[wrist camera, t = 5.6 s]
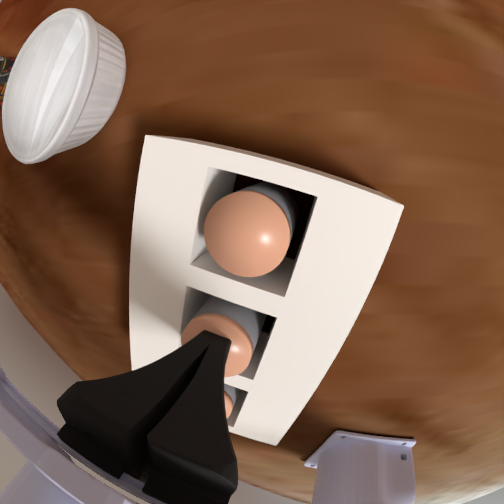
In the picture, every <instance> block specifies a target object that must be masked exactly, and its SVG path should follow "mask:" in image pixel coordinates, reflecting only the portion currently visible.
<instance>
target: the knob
mask: <svg viewBox="0 0 504 504" xmlns="http://www.w3.org/2000/svg"><path fill="white" fill-rule="evenodd" d="M297 221H298V207H297V203H296V201H295V199H294V197H293V196H292V194H291V193H290V192H289V191H288V190H287V189H286V188H284V187H283V186H281V185H278V184H274V183H271V182H261V183H257V184H254V185H251V186H249V187H246V188H244V189H241V190H239V191H236V192H234V193H232V194H229V195H227V196H225V197H223V198H221V199H220V200H219V201H217V202H216V203H215V204H214V205H213V206H212V208H211V209H210V211H209V212H208V214H207V217H206V220H205V223H204V240H205V244H206V247H207V249H208V251H209V253H210V255H211V257H212V258H213V259H214V261H215V262H216V263H217V264H218V265H219V266H220V267H222V268H223V269H224V270H226V271H228V272H230V273H232V274H234V275H238V276H242V277H257V276H262V275H264V274H267V273H269V272H270V271H272V270H273V269H275V268H276V267H277V266H278V265H279V264H280V263H281V261H282V260H283V258H284V257H285V255H286V252H287V250H288V247H289V244H290V241H291V238H292V236H293V233H294V230H295V227H296V224H297Z"/></svg>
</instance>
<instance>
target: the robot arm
mask: <svg viewBox="0 0 504 504" xmlns="http://www.w3.org/2000/svg"><path fill="white" fill-rule="evenodd" d="M231 343H232V341H231V340H230V339H228V338H225V337H223V336H220V335H217V334H215V333H212V332H209V331H207V330H203V331H201V332H200V333H199V334H198V335H196V336H195V337H194V338H192V339H191V340H190V341H188V342H187V343H185V344H184V345H182V346H181V347H179V348H178V349H176V350H175V351H173V352H171V353H170V354H168V355H166V356H164V357H162V358H160V359H159V360H157V361H155V362H153V363H150V364H148V365H146V366H143V367H141V368H138V369H136V370H133V371H130V372H127V373H124V374H120V375H116V376H112V377H107V378H103V379H97V380H89V381H80V382H76V383H75V384H73V385H72V386H71V387H70V388H68V389H67V391H66V392H65V393H64V394H63V395H62V396H61V397H60V398H59V399H58V400H57V406H58V408H59V410H60V412H61V414H62V416H63V418H64V420H65V422H66V424H65V425H64V426H63V427H62V428H61V429H60V428H59V427H57V426H56V425H55V424H54V423H53V422H51V421H50V420H49V419H48V418H47V417H46V416H44V415H43V414H42V413H41V412H40V411H39V410H38V409H37V408H36V407H34V406H33V404H31V403H30V402H29V401H28V400H27V399H26V398H25V397H24V396H23V395H22V394H21V393H20V392H19V391H18V389H17V388H16V387H15V386H14V385H13V384H12V383H11V382H10V381H9V380H8V379H7V378H6V376H5V373H4V371H3V370H2V368H1V366H0V431H1V432H2V433H3V434H4V435H5V437H6V438H7V439H8V440H9V441H10V442H11V443H12V444H13V445H14V446H15V448H17V450H18V451H19V452H20V453H21V454H22V455H23V456H24V457H25V458H26V459H27V460H28V461H27V462H26V464H25V465H24V466H23V467H22V468H21V470H19V472H18V473H17V474H16V475H15V476H14V478H13V479H12V480H11V481H10V483H9V484H8V485H7V486H6V487H5V489H4V490H3V491H2V492H1V494H0V504H138V503H137V502H135V501H133V500H131V499H129V498H128V497H126V496H124V495H122V494H120V493H119V492H117V491H116V490H114V489H112V488H111V487H109V486H107V485H106V484H104V483H102V482H101V481H99V480H98V479H96V478H95V477H93V476H92V475H90V474H89V473H87V472H86V471H84V470H82V469H81V468H79V467H78V466H77V465H76V464H75V463H74V462H73V461H72V460H71V458H70V456H69V455H68V454H67V453H69V454H70V455H71V456H73V457H74V458H75V459H77V460H78V461H79V462H81V463H82V464H84V465H85V466H86V467H88V468H89V469H91V470H92V471H94V472H96V473H97V474H99V475H100V476H102V477H103V478H105V479H106V480H108V481H110V482H111V483H113V484H115V485H116V486H118V487H120V488H121V489H123V490H125V491H127V492H129V493H131V494H132V495H134V496H136V497H138V498H140V499H142V500H144V501H146V502H148V503H150V504H228V502H229V499H230V496H231V495H232V494H233V493H234V492H235V491H236V489H237V485H238V468H237V458H236V455H235V452H234V449H233V446H232V442H231V438H230V434H229V429H228V423H227V418H226V410H225V398H224V375H225V365H226V361H227V358H228V354H229V350H230V347H231ZM415 444H416V440H415V439H403V438H391V437H381V436H373V435H365V434H358V433H352V432H346V431H335V432H334V433H333V434H332V435H331V436H330V437H329V438H328V439H327V440H326V441H325V442H324V443H323V444H322V445H321V446H320V447H319V448H318V449H317V450H316V451H315V452H314V453H313V454H312V455H311V456H310V457H309V458H308V459H307V460H306V461H305V462H304V466H307V467H312V468H317V471H316V478H315V485H314V492H313V498H312V504H413V503H414V500H415V495H416V484H415V473H414V463H413V455H412V448H411V447H412V446H414V445H415ZM58 445H59V446H60V447H61V448H62V449H64V450H65V451H66V452H67V453H66V452H65V451H64V450H62V449H61V448H60V447H59V446H58Z"/></svg>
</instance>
